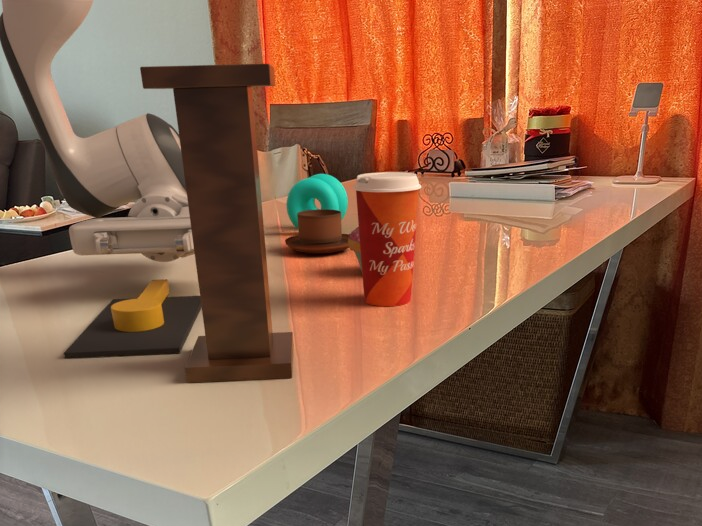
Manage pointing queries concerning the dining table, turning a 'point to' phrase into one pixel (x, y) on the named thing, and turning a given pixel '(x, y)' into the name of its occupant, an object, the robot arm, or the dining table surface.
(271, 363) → the stand
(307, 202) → the donuts
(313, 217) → the cup and saucer
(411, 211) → the coffee cup
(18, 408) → the dining table surface
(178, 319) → the mat
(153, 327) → the scoop
